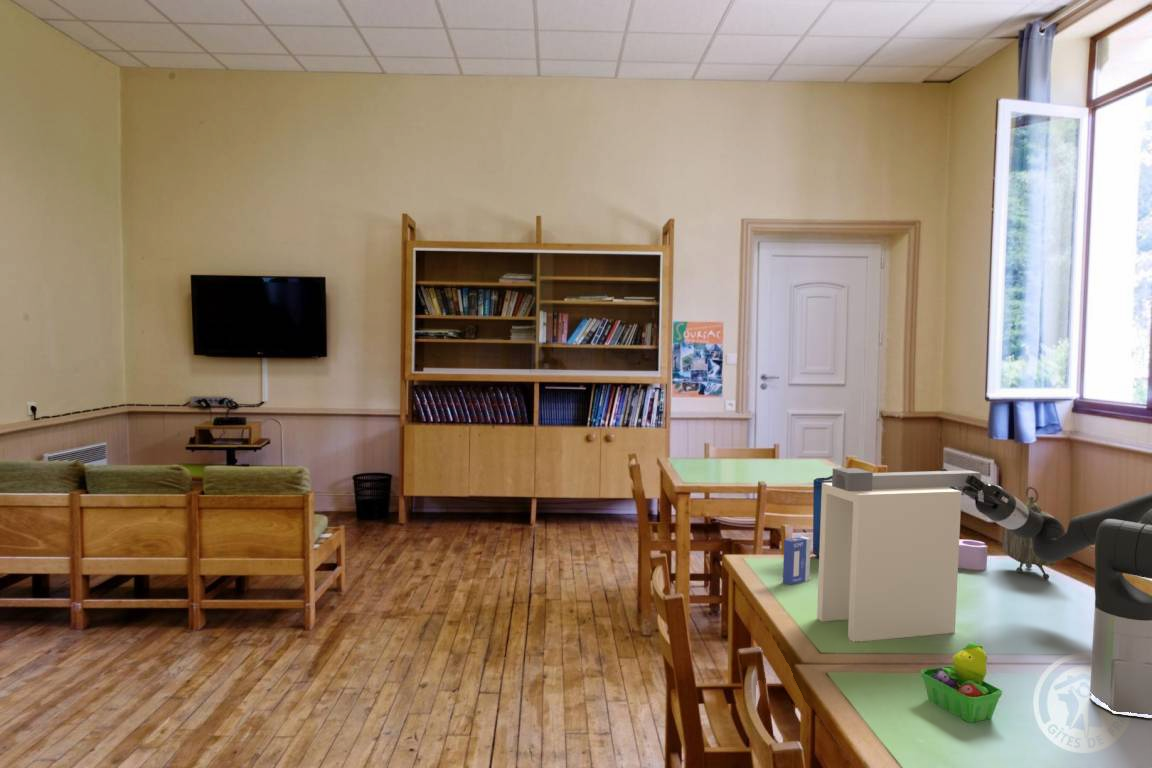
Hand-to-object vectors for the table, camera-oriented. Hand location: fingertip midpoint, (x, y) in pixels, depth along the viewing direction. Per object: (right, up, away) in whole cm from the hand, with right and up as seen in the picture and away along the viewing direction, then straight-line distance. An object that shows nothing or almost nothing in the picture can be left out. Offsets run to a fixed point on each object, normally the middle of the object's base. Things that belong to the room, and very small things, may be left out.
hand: (954, 475), depth 171 cm
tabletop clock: (+41, -33, +40) cm, 67 cm away
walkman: (-28, -33, +29) cm, 52 cm away
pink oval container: (+23, -33, +49) cm, 63 cm away
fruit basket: (-20, -36, -41) cm, 58 cm away
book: (-6, -32, +53) cm, 62 cm away
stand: (-17, -34, -3) cm, 38 cm away
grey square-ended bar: (-12, -2, -3) cm, 12 cm away
